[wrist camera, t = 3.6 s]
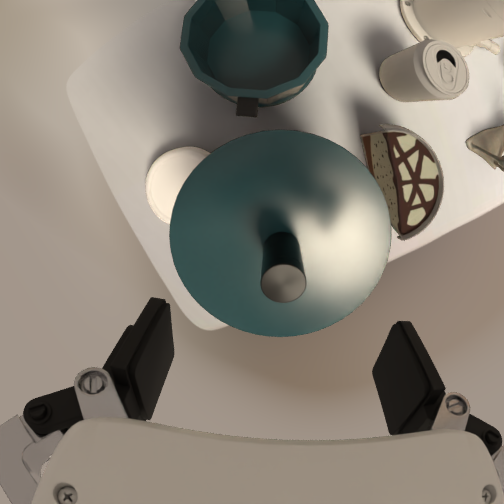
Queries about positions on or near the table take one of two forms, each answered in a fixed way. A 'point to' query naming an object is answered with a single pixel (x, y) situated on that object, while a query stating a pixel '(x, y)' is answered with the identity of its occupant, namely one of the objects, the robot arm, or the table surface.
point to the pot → (254, 48)
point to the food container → (405, 177)
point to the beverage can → (425, 72)
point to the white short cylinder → (170, 178)
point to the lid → (280, 233)
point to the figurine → (489, 146)
